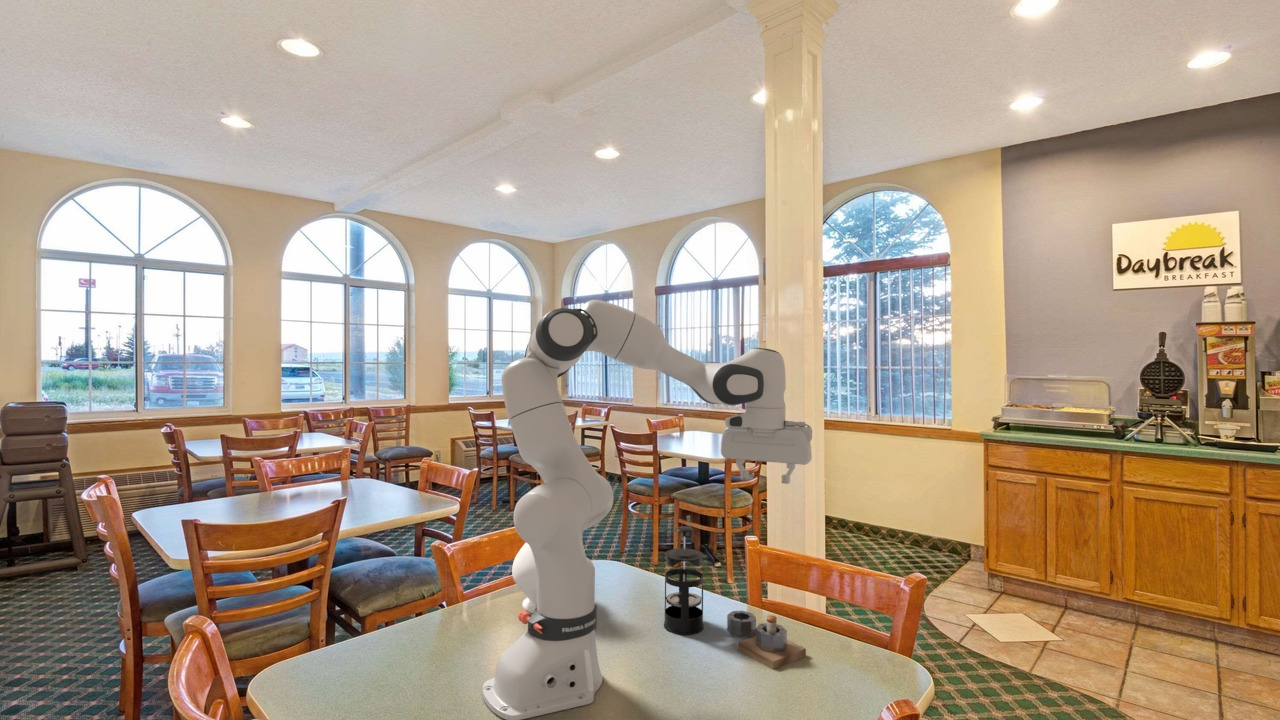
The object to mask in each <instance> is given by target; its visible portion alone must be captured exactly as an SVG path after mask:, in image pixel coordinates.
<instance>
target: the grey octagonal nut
mask: <svg viewBox="0 0 1280 720" xmlns="http://www.w3.org/2000/svg"><path fill="white" fill-rule="evenodd" d="M787 635H788V630H787V629H786V628H785V626H783V625H781V624H777V623H776V633H769V632H767V622H765V623H758V625H756V633H755V636H756V646H757V647H758V648H760V649H761V650H763V651H767V652H771V653H776V652H783V651H784V650H785V648H786V647H787V640H788V637H787Z"/></svg>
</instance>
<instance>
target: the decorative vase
mask: <svg viewBox="0 0 1280 720" xmlns="http://www.w3.org/2000/svg"><path fill="white" fill-rule="evenodd" d="M511 570H512V571H511V573H512V574H511V575H512V579H513V581H514V583H515V584H516V585H517V587H518V588H519V590H520V591H521V592H522V593H523V594H524V595H525V597H526V598H524V600H522V605H521V606H522V608H523V610H525V611H527V612H528V613H531V614H533V612H534V610H535V608H536V606H537V572H536V564H535V560H534V556H533V553H532V550H531V548H530V546H529V544H528V543H526V542H524V544H523V545H522V547H520V549H519V550H518V552H517V554H516V556H515V557H514V560H513V563H512V568H511Z"/></svg>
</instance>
